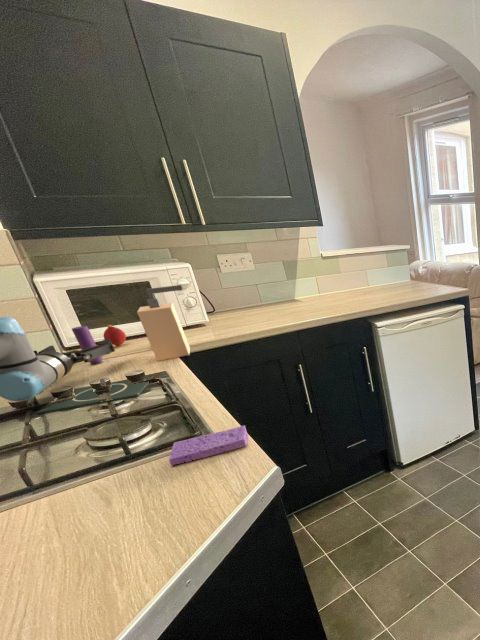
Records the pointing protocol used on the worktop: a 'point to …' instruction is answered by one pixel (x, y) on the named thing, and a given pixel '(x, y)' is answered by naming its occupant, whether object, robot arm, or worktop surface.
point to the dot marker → (86, 341)
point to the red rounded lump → (115, 335)
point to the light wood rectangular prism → (163, 326)
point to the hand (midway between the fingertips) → (82, 346)
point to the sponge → (208, 445)
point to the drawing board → (90, 398)
